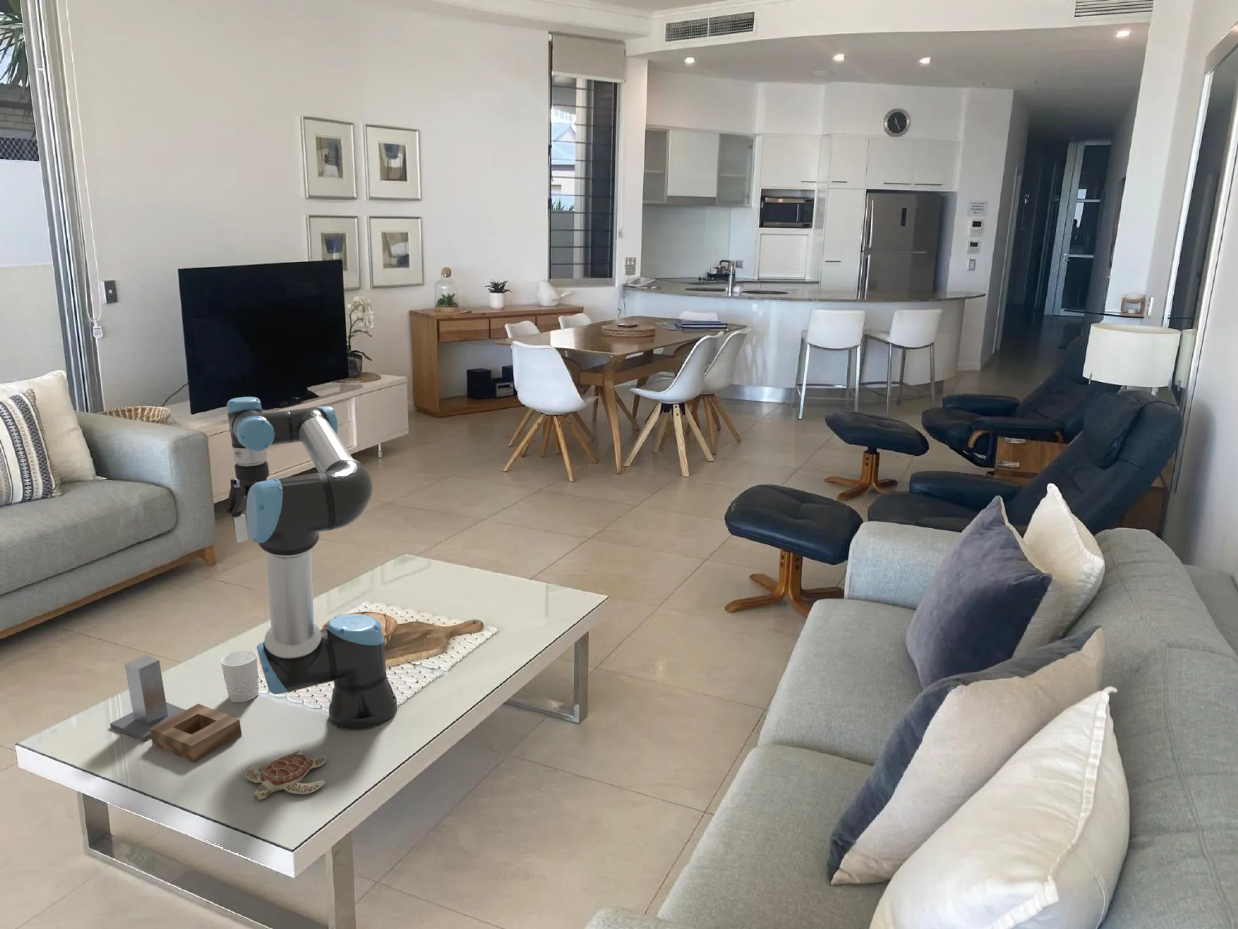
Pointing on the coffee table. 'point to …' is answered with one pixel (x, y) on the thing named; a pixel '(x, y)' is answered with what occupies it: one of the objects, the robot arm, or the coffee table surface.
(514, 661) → the coffee table surface
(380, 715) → the robot arm
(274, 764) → the decorative turtle
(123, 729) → the rubber mat
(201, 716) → the walnut holder
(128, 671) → the metal peg
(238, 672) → the white cup
